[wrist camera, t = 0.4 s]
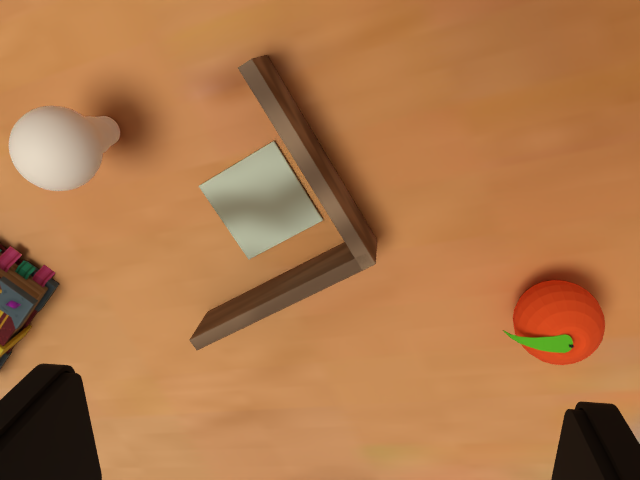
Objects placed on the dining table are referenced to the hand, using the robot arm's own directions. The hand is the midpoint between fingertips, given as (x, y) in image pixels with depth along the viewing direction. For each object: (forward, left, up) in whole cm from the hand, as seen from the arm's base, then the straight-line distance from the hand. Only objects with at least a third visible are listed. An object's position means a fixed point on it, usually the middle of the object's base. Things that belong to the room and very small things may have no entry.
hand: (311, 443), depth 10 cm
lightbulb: (-11, -20, -36) cm, 42 cm away
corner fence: (0, -13, -35) cm, 38 cm away
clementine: (+21, +5, -36) cm, 42 cm away
